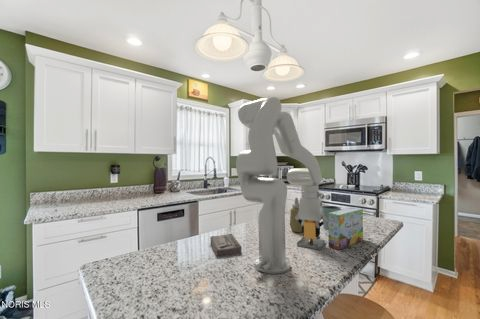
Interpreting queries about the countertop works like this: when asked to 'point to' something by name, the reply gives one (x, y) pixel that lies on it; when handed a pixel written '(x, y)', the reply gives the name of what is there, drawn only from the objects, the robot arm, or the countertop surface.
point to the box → (225, 245)
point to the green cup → (325, 212)
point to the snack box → (345, 227)
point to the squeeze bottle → (293, 222)
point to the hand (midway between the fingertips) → (311, 234)
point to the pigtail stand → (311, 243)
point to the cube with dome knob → (310, 229)
